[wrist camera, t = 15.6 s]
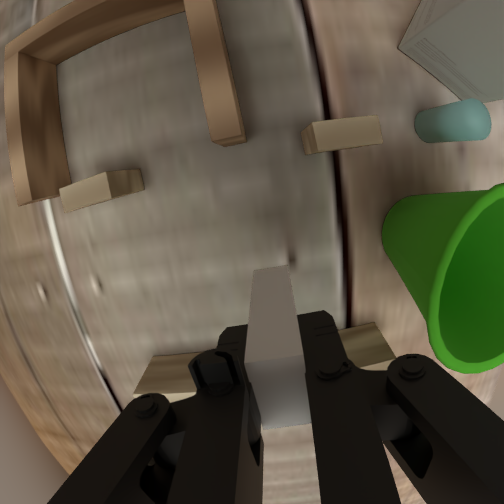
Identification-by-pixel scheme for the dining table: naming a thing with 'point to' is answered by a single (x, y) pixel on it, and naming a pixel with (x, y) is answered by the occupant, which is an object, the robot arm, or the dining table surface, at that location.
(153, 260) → the dining table surface
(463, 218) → the cup
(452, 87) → the supplement box
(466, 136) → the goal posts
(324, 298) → the dining table surface
